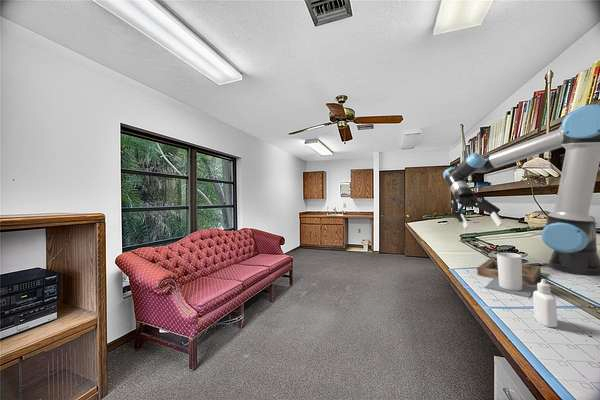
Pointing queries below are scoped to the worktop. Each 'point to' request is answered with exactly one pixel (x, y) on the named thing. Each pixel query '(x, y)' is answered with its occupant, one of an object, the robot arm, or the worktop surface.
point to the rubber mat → (525, 291)
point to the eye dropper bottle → (545, 305)
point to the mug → (510, 271)
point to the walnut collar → (531, 271)
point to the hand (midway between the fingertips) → (483, 226)
